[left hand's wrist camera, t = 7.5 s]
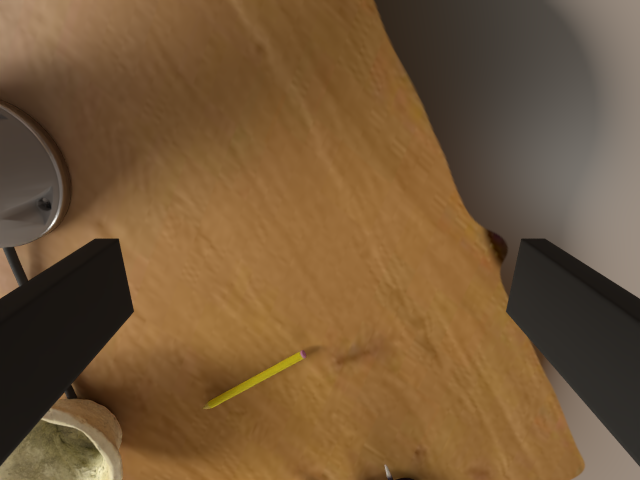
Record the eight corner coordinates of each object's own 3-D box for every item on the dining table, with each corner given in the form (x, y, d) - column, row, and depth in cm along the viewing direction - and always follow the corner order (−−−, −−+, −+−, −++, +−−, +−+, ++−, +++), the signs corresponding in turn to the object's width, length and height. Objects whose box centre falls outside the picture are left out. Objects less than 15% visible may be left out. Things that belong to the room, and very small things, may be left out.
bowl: (135, 432, 58) (31, 511, 50) (69, 346, 50) (-64, 425, 43) (162, 493, 47) (36, 604, 40) (84, 397, 40) (-89, 512, 32)
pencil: (301, 348, 47) (301, 353, 46) (306, 353, 47) (306, 359, 46) (200, 403, 50) (198, 409, 49) (205, 408, 50) (203, 414, 49)
